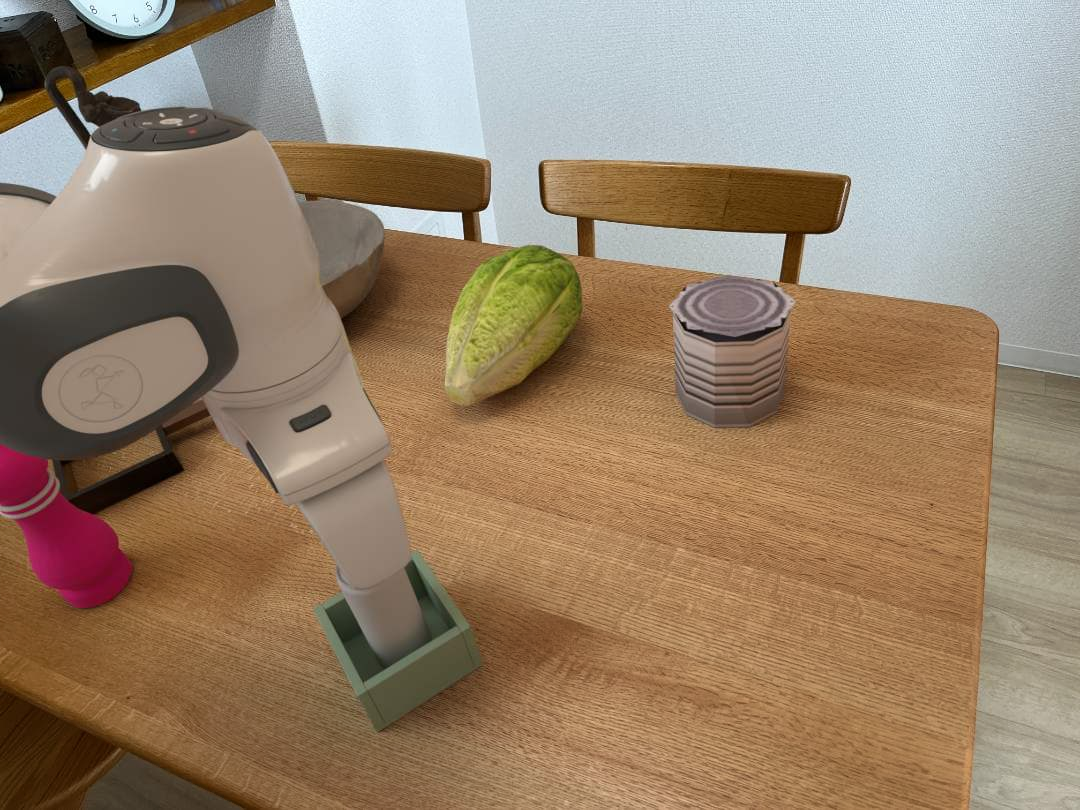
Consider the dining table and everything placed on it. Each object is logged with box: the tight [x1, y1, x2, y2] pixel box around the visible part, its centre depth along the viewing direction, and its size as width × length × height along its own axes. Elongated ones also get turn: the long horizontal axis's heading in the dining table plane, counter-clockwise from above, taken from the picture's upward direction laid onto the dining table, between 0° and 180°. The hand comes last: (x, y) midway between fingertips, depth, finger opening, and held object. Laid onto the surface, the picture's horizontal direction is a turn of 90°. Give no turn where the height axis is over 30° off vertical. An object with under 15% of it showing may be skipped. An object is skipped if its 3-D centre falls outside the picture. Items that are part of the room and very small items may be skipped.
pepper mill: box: [0, 444, 133, 609], centre depth 71 cm, size 7×7×20 cm
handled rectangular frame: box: [51, 399, 211, 515], centre depth 91 cm, size 20×12×3 cm, turn 123°
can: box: [668, 274, 796, 429], centre depth 82 cm, size 11×11×12 cm
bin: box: [312, 548, 484, 733], centre depth 65 cm, size 10×10×6 cm
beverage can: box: [334, 564, 432, 670], centre depth 63 cm, size 5×5×12 cm
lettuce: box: [444, 244, 583, 408], centre depth 91 cm, size 13×22×14 cm
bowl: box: [298, 199, 386, 320], centre depth 107 cm, size 28×28×10 cm
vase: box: [43, 65, 142, 151], centre depth 116 cm, size 12×12×30 cm
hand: (347, 532), depth 57 cm, fingers open, 8 cm apart
